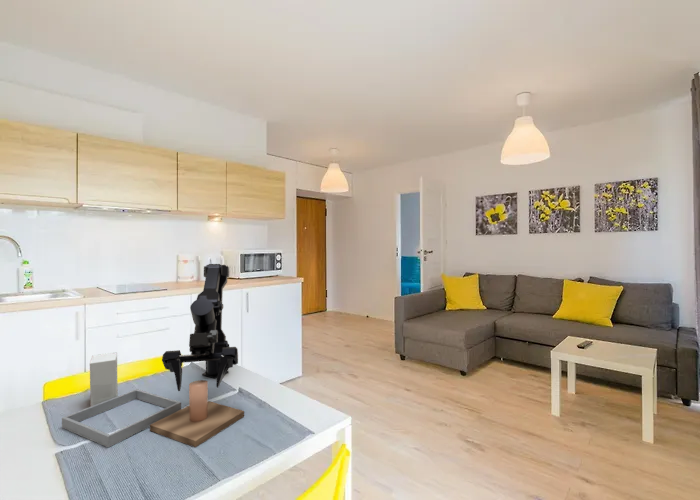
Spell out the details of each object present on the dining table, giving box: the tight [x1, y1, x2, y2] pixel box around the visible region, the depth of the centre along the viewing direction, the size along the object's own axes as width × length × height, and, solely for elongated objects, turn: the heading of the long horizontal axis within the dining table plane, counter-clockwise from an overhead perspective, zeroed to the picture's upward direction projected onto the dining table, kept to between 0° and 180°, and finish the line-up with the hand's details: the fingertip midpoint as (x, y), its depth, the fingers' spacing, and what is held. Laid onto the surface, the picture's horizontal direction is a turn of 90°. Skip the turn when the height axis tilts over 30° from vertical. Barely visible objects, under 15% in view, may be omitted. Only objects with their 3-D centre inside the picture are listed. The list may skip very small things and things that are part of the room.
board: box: [149, 400, 245, 448], centre depth 92 cm, size 16×16×2 cm
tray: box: [61, 388, 182, 448], centre depth 94 cm, size 19×19×2 cm
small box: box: [89, 352, 119, 407], centre depth 104 cm, size 8×6×13 cm
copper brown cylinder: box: [188, 379, 209, 422], centre depth 92 cm, size 4×4×9 cm
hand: (198, 388), depth 91 cm, fingers open, 9 cm apart
